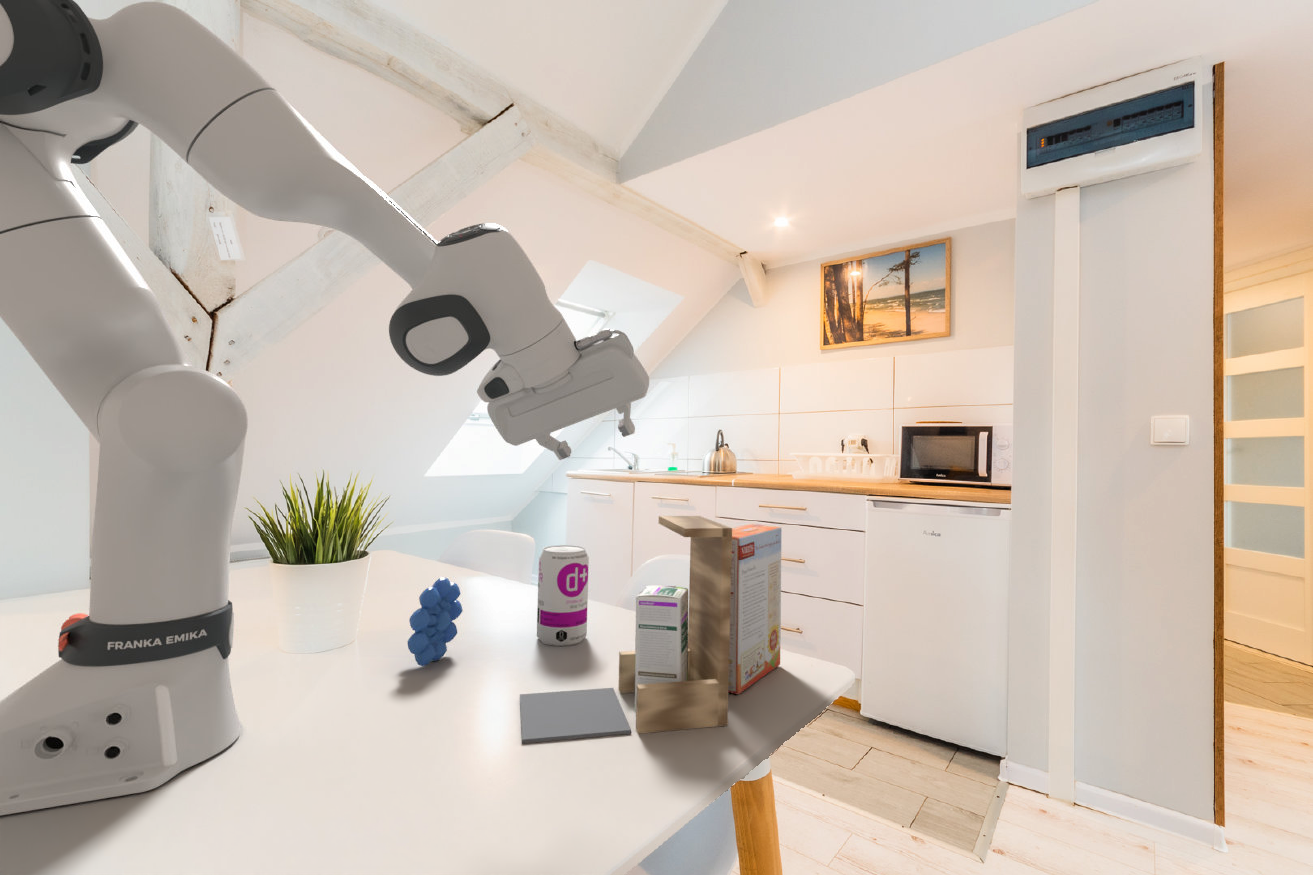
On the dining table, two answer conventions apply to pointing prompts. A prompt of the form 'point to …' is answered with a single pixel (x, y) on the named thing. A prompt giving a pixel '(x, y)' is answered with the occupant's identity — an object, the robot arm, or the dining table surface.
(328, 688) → the dining table surface
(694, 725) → the shelf slot
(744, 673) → the cracker box
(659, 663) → the syrup box
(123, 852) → the dining table surface
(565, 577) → the supplement can
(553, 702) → the mat
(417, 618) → the grapes
